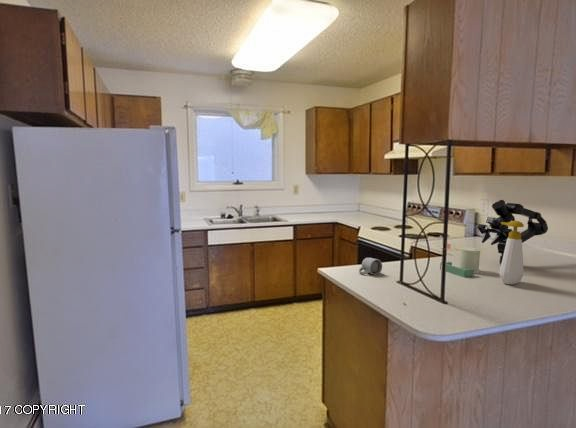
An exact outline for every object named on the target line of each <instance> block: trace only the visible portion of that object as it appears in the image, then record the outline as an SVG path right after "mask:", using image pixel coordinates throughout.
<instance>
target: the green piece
mask: <svg viewBox="0 0 576 428" xmlns="http://www.w3.org/2000/svg"><path fill="white" fill-rule="evenodd" d="M442 248H443V246H442ZM446 249H447V250H451V243H447V248H446ZM445 262H446V271H445V272H448V273H450V274H453V275H456V276H459V277H461V278H468V277H474V276H475V275H474V274H475V273H474V269H473V268H469V269H462V268H459V267H458V266H456V265H453V262H452V261H445ZM441 265H442V262H440V264H439V270H441Z"/></svg>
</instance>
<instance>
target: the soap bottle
mask: <svg viewBox="0 0 576 428" xmlns="http://www.w3.org/2000/svg"><path fill="white" fill-rule="evenodd" d="M501 224H502V225H507V226H508V227H513V229H512V231H510V232H509V237H508V238H507V242H506V246H505V250H504V255H503V259H502V263H501V264H500V267H499V278H500V279H501V281H502V283H504V284H506V285H509V286H512V285H517V284H519V283H520V282H521V281H522V279H523V276H524V272H525V271H524V257H523V256H524V254H523V253H524V252H523V243H522V240H521V231H518V228H523V227H525V224H523V222H521V221H519V220H515V221H511V222H508V223H506V222H501Z"/></svg>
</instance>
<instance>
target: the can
mask: <svg viewBox="0 0 576 428" xmlns="http://www.w3.org/2000/svg"><path fill="white" fill-rule="evenodd" d="M459 255H460V256H459V268H462V269H469V268H473V269H474V274H478V273H480V269H479V268H480V258H481V257H480V256H481V249H480V248H477V247H469V246H463V247H460V253H459Z"/></svg>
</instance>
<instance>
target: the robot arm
mask: <svg viewBox="0 0 576 428" xmlns="http://www.w3.org/2000/svg"><path fill="white" fill-rule="evenodd" d="M491 207H492V210H493V211H494V212H495V214H496V215H497V216H498V217H495V216H487V219H486V220H485V223H487V224H489V226H488V225H487V224H482V223H481V224H480V223H479V224H478V225H477V227H476V228H477V229H478V231H479V232H480V234H482V238H481V243H482V244H484V243H485V242H486V241H488V239H490V237H492V236H491V233H492V234H496V235H495V236H494V238H493V239H492V241H491V243H490V245H491V246H493V245H496V244H497V251H498V254H501V255H500V256H499V264H500V265H501V263H502V259H503V255H504V250H505V246H506V242H507V238H508V237H509V232H510V231H513V229H512V228H509V226H507V225H502V224H501V222H506V223H508V222H511V221H516V218H515V216H514V215H520V216H523V217H525V218H528V220H527V223H526V224H527V228H526V229H525V230H524V231H520V233H521V240H522V244H523V243H525V242H527V241H528V240H530V239H532V238H533V237H535V236H542V235H544V234H546V233H547V232H548V230H549V227H548V223H547V221H546V220H545V219H544V218H543V217H542V214H541V213H540V212H539V211H534V210H531V209H528V208H525V207H524V206H523V205H522V204H520V203H514V202H507V203H506V202H505V200H504V199H500V200H498V201H495V202H494V203H492V204H491ZM533 220H536V221H537V222H535V221H533Z"/></svg>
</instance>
